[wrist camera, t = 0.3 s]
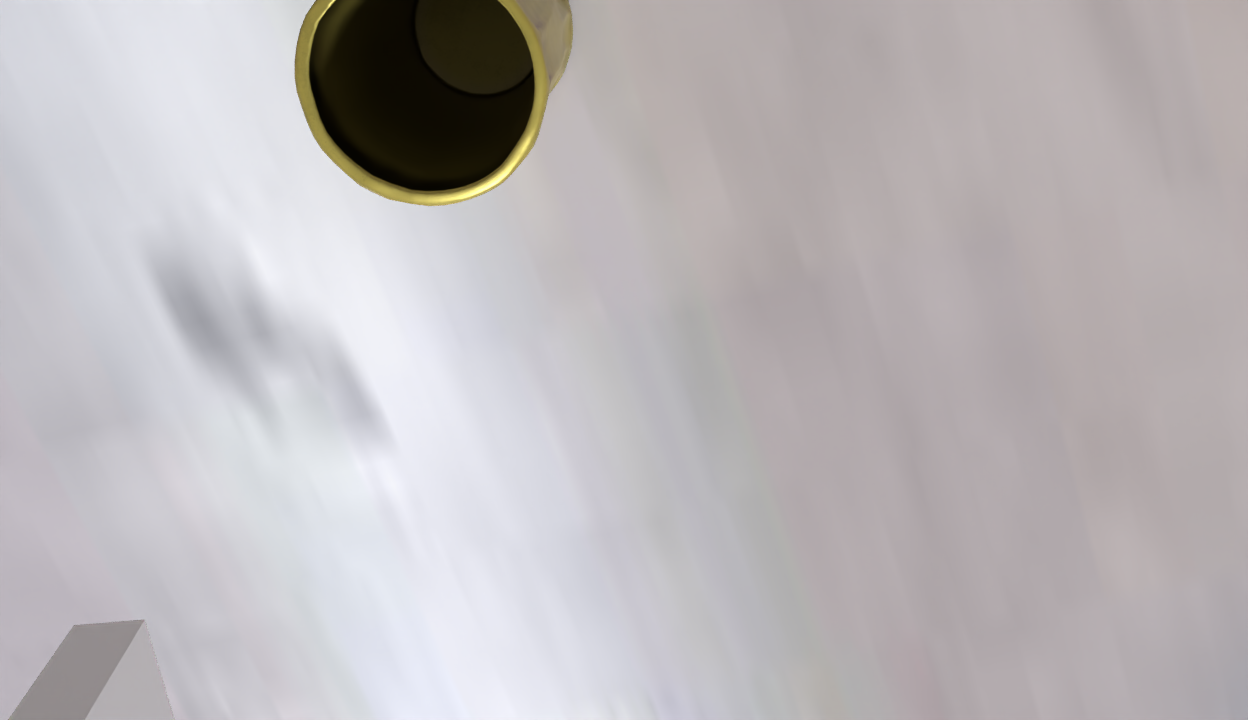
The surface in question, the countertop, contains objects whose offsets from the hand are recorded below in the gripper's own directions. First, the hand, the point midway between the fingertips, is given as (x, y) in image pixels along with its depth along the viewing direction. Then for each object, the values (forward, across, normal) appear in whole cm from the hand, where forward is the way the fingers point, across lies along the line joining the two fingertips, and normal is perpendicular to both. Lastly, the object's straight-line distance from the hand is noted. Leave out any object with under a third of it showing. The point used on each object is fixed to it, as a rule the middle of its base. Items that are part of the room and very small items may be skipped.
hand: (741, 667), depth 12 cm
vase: (+27, -4, +5) cm, 28 cm away
